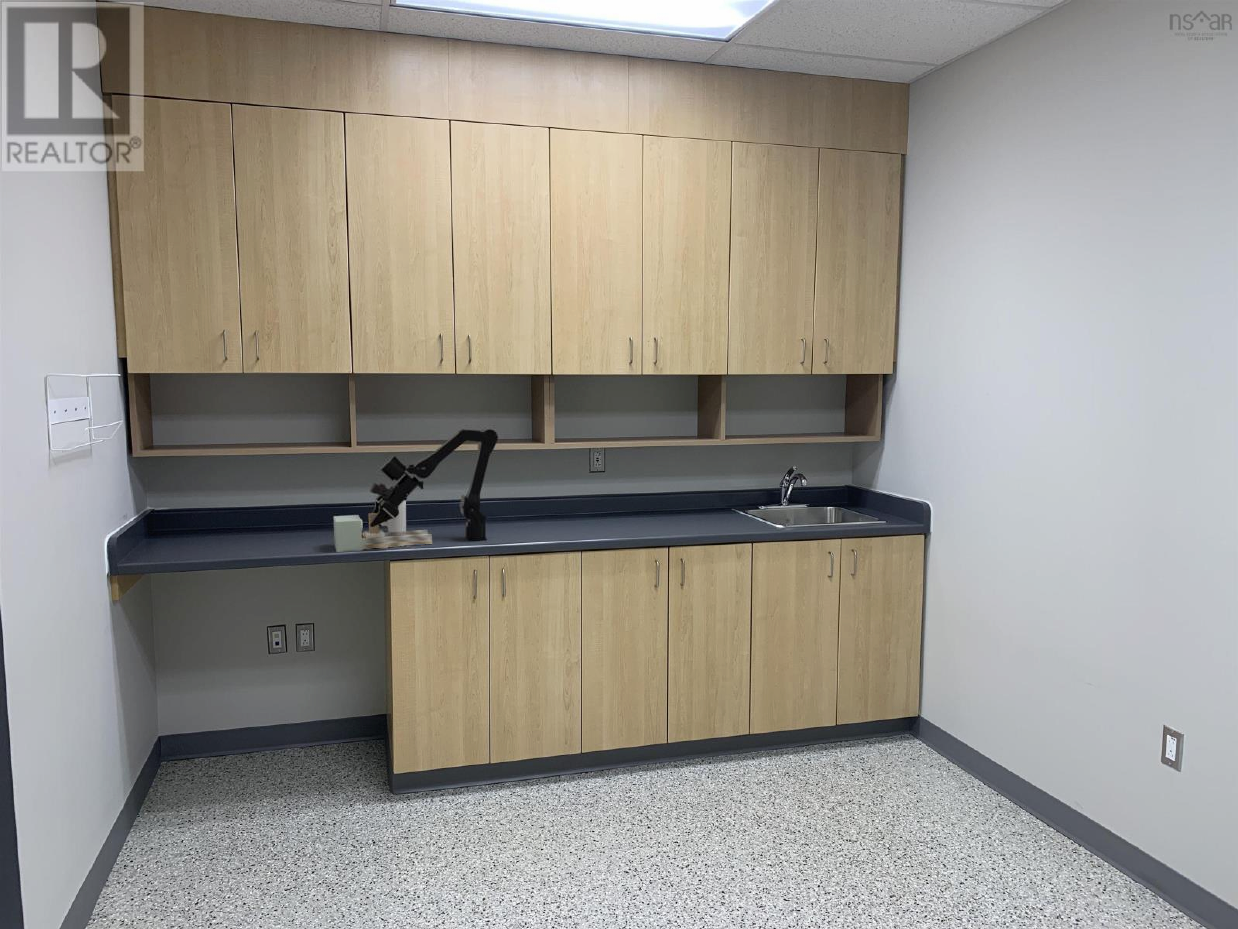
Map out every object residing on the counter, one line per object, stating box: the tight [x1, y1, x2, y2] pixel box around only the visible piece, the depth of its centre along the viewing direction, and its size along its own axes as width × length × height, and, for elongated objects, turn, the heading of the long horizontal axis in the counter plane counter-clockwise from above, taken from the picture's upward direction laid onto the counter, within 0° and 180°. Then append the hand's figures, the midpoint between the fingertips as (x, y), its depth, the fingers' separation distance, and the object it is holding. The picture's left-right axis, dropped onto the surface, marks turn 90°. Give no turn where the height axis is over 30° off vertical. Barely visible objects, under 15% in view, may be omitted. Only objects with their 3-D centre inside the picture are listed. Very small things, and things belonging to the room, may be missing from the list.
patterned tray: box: [361, 529, 433, 551], centre depth 285 cm, size 23×10×4 cm, turn 112°
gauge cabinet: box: [333, 514, 363, 553], centre depth 279 cm, size 8×12×10 cm
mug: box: [380, 500, 407, 532], centre depth 304 cm, size 10×7×12 cm, turn 102°
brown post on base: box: [363, 512, 385, 538], centre depth 282 cm, size 6×6×9 cm
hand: (369, 524), depth 281 cm, fingers open, 8 cm apart
